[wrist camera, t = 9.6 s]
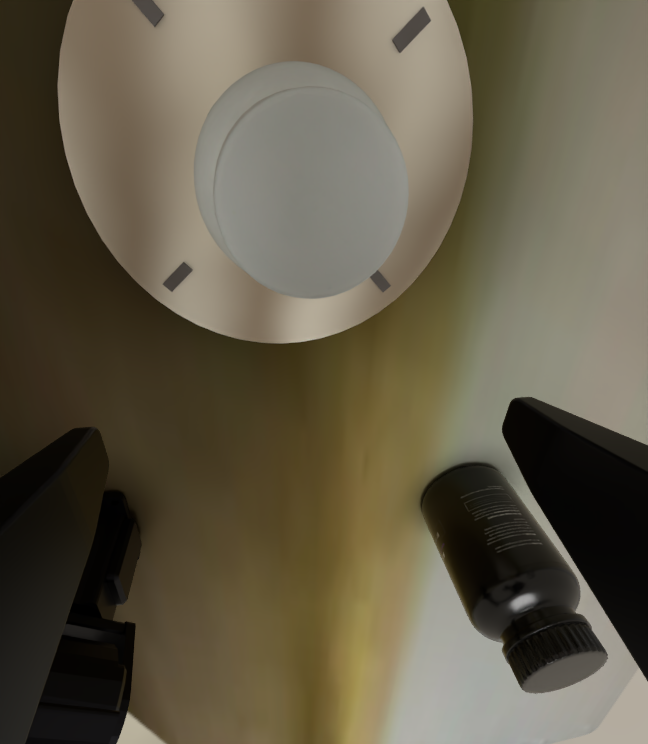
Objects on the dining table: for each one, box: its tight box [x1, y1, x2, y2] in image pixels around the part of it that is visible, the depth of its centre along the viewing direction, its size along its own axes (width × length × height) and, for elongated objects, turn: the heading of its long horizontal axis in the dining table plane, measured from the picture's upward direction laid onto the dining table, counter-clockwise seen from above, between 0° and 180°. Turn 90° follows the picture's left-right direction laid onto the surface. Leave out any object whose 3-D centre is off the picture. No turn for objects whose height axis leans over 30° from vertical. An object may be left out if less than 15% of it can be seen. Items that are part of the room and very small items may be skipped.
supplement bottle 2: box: [422, 465, 608, 694], centre depth 26 cm, size 7×7×12 cm
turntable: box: [58, 0, 473, 343], centre depth 16 cm, size 16×16×1 cm
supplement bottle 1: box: [194, 61, 409, 299], centre depth 12 cm, size 5×5×10 cm
